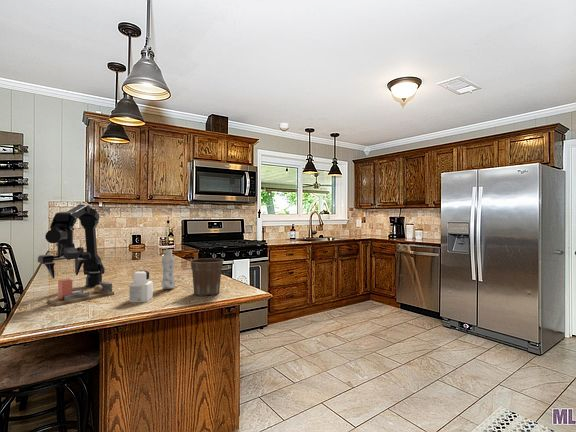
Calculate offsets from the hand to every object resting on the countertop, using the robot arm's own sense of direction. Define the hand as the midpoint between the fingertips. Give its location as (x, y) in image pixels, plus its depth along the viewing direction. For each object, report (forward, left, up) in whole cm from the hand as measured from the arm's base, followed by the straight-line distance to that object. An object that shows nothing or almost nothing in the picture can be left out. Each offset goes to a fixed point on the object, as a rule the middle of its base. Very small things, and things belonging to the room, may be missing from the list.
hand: (65, 276), depth 148 cm
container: (-21, +24, -11) cm, 34 cm away
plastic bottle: (-41, +16, -11) cm, 45 cm away
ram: (-2, 0, -9) cm, 10 cm away
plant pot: (-47, +38, -11) cm, 61 cm away
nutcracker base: (-7, 0, -11) cm, 13 cm away
